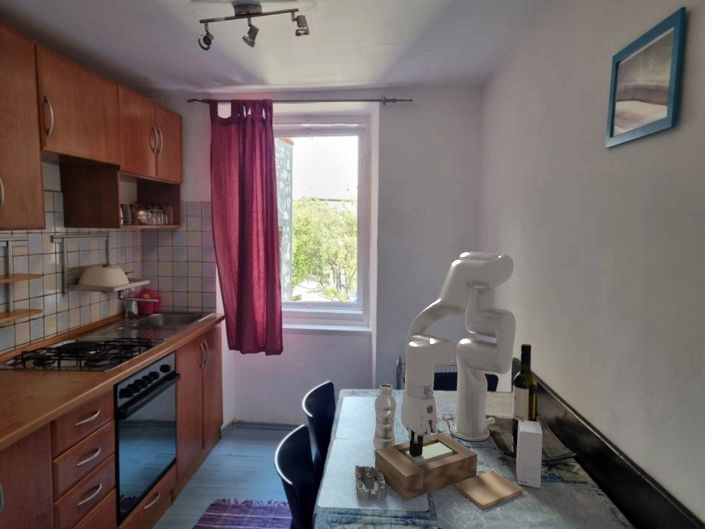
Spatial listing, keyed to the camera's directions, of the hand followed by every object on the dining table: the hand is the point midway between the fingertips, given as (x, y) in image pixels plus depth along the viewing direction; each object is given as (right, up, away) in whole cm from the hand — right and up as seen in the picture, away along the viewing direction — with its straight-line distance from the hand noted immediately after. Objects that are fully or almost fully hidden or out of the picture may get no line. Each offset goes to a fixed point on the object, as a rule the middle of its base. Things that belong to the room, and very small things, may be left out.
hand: (415, 454), depth 118 cm
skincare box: (+31, -8, +2) cm, 32 cm away
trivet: (+18, -8, -4) cm, 20 cm away
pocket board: (+3, -7, +2) cm, 8 cm away
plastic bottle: (-8, -5, +15) cm, 17 cm away
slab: (+4, -3, +3) cm, 5 cm away
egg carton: (-13, -7, -4) cm, 15 cm away
